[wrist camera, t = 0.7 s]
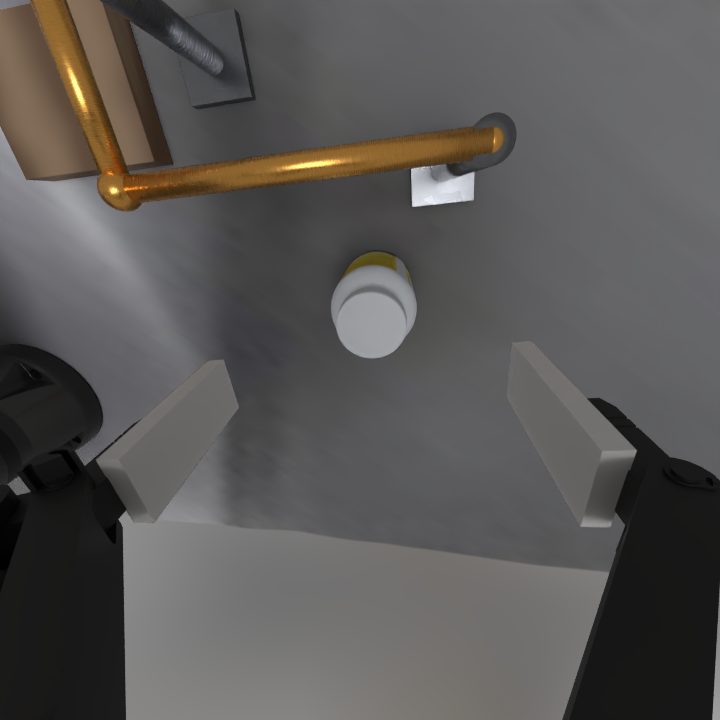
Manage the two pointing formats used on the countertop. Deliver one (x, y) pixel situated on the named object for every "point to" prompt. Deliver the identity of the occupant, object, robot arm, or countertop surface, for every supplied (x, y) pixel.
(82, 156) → the pad
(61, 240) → the countertop surface
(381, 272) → the pill bottle
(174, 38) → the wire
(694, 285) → the countertop surface
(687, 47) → the countertop surface
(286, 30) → the countertop surface
